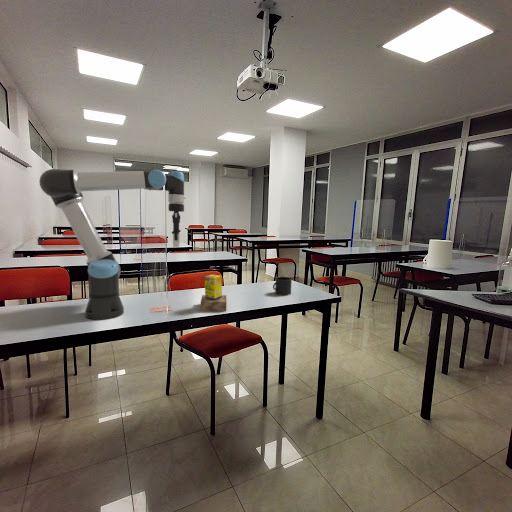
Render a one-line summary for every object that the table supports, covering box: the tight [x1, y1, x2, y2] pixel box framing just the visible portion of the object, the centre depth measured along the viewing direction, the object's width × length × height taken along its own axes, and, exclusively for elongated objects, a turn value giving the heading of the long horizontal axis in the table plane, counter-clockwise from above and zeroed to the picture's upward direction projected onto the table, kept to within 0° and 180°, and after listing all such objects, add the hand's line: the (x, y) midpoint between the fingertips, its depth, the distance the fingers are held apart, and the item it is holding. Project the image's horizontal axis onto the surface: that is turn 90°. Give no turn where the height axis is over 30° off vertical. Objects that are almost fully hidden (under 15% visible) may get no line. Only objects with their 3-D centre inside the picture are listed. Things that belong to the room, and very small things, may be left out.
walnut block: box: [200, 294, 227, 312], centre depth 147 cm, size 12×12×5 cm
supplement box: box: [204, 273, 223, 300], centre depth 146 cm, size 6×6×11 cm
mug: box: [272, 276, 292, 296], centre depth 177 cm, size 9×12×9 cm
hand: (176, 245), depth 153 cm, fingers open, 13 cm apart
